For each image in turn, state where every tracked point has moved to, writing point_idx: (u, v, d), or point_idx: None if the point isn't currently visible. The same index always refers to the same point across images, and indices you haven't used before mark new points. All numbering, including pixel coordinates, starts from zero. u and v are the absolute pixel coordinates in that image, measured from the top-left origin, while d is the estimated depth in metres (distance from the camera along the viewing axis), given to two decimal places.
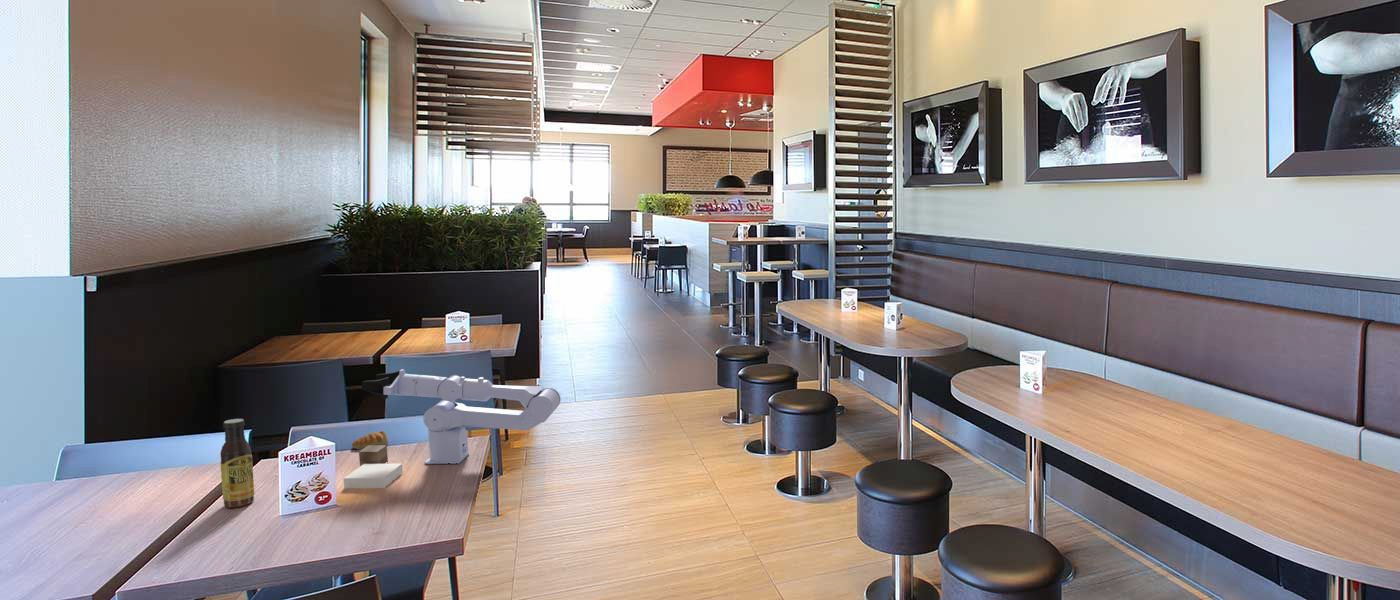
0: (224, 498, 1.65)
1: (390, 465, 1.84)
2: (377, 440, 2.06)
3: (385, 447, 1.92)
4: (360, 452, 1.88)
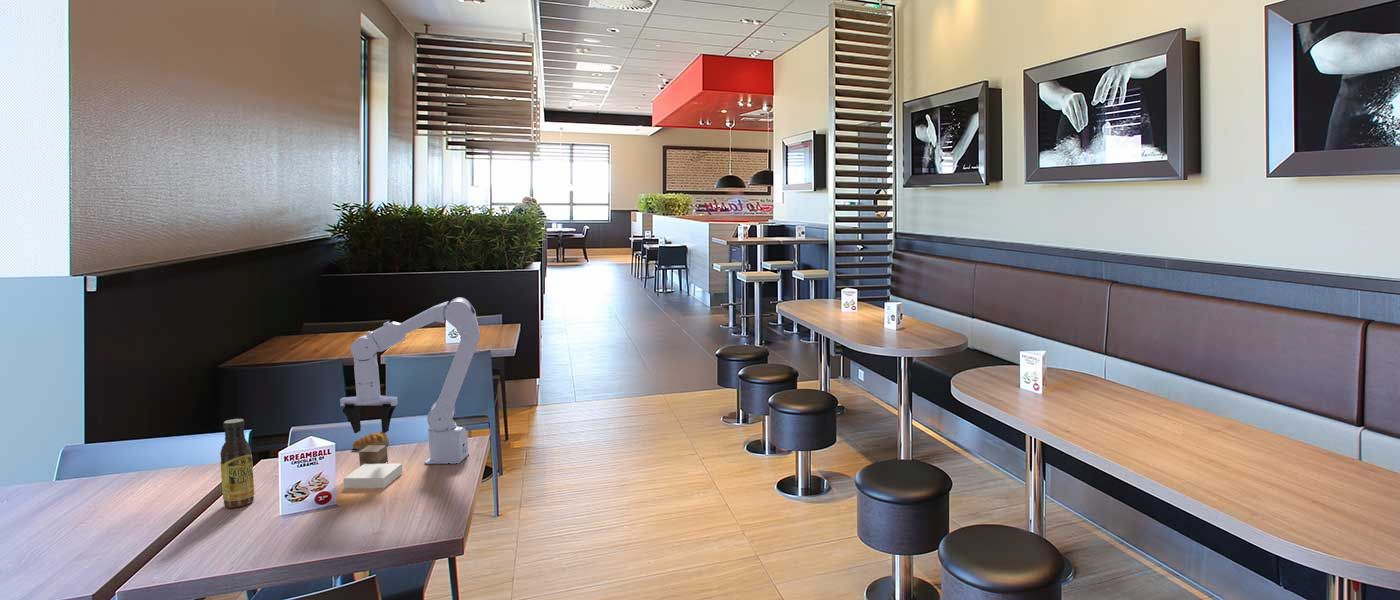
0: (224, 498, 1.65)
1: (390, 465, 1.84)
2: (378, 441, 2.06)
3: (385, 447, 1.92)
4: (360, 452, 1.88)
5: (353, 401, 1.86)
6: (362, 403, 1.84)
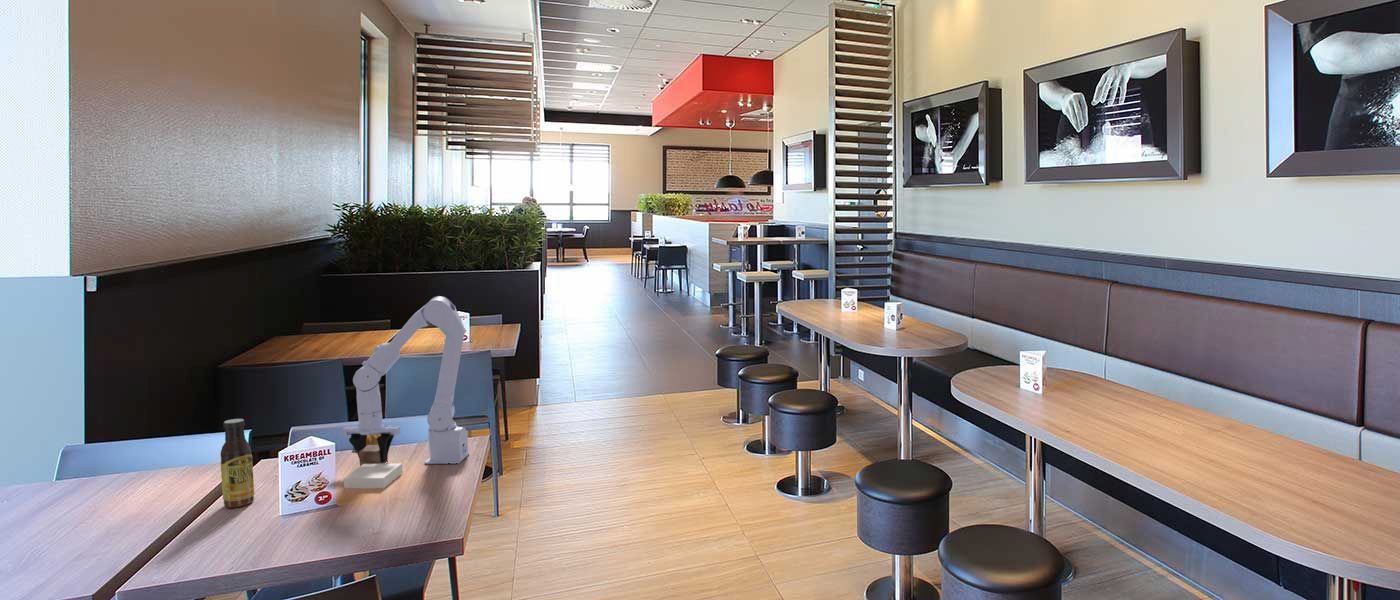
0: (224, 498, 1.65)
1: (390, 465, 1.84)
2: None
3: None
4: (360, 452, 1.88)
5: (355, 431, 1.87)
6: (364, 433, 1.85)
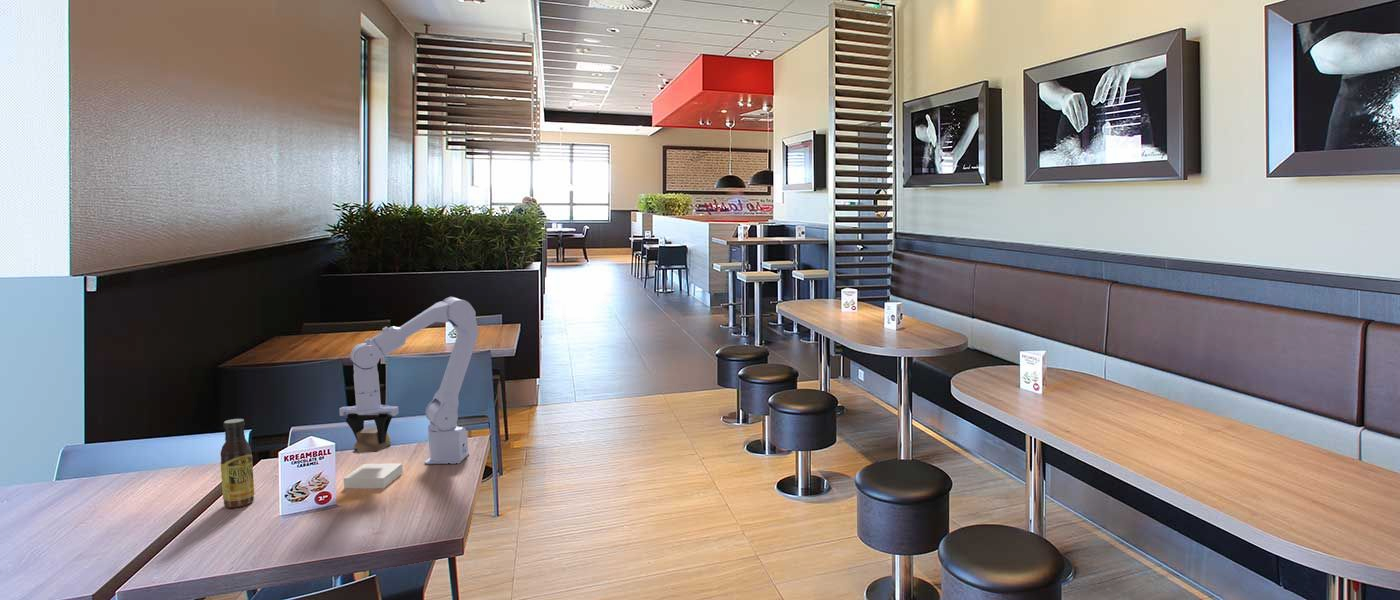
0: (224, 498, 1.65)
1: (390, 465, 1.84)
2: None
3: None
4: (358, 433, 1.81)
5: (352, 411, 1.81)
6: (362, 413, 1.79)
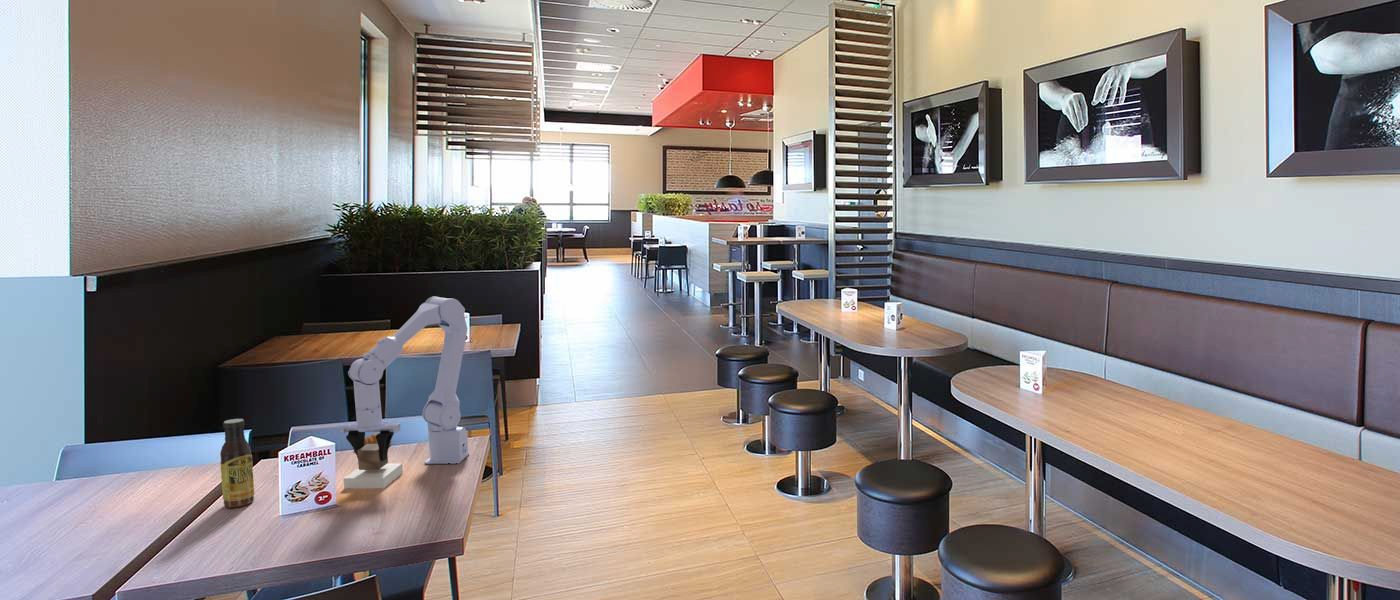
0: (224, 498, 1.65)
1: (390, 465, 1.84)
2: None
3: None
4: (359, 451, 1.77)
5: (353, 428, 1.77)
6: (363, 430, 1.75)
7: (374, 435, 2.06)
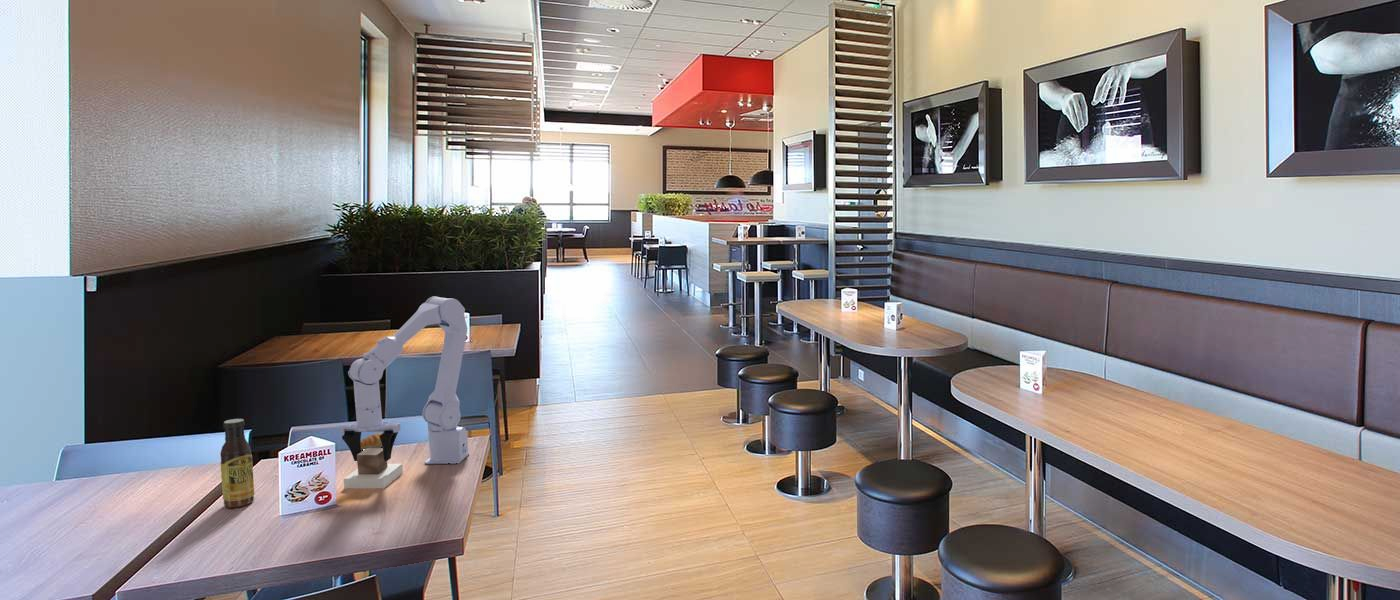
0: (224, 498, 1.65)
1: (390, 465, 1.84)
2: None
3: None
4: (358, 455, 1.77)
5: (353, 428, 1.77)
6: (363, 430, 1.75)
7: (375, 435, 2.06)
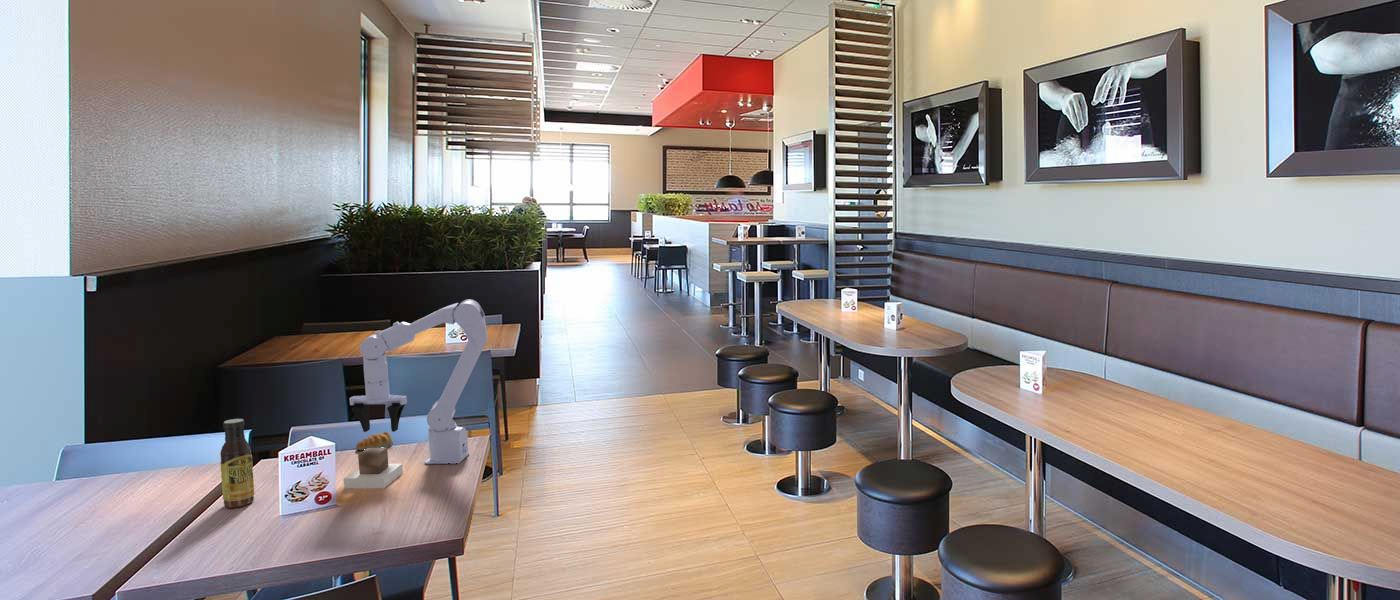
0: (224, 498, 1.65)
1: (390, 465, 1.84)
2: (382, 441, 2.05)
3: (385, 450, 1.82)
4: (359, 455, 1.77)
5: (362, 400, 1.87)
6: (372, 402, 1.85)
7: (375, 435, 2.06)
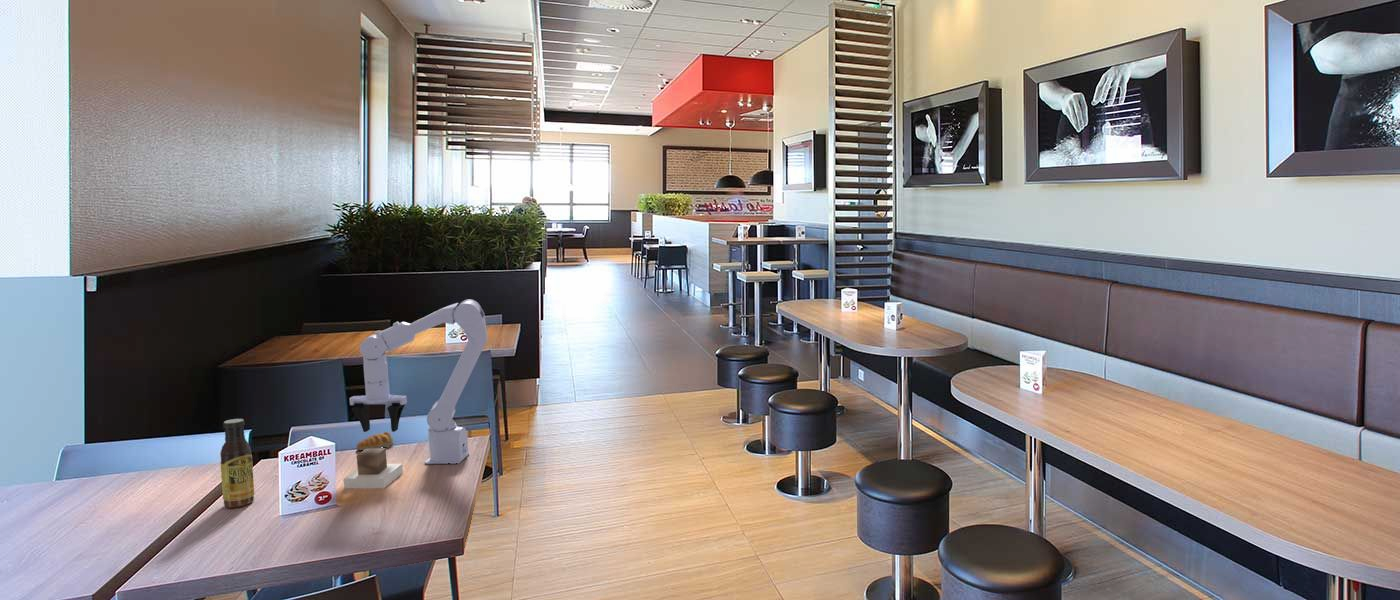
0: (224, 498, 1.65)
1: (390, 465, 1.84)
2: (383, 441, 2.05)
3: (384, 450, 1.81)
4: (358, 456, 1.77)
5: (362, 400, 1.87)
6: (372, 402, 1.85)
7: (376, 435, 2.06)
